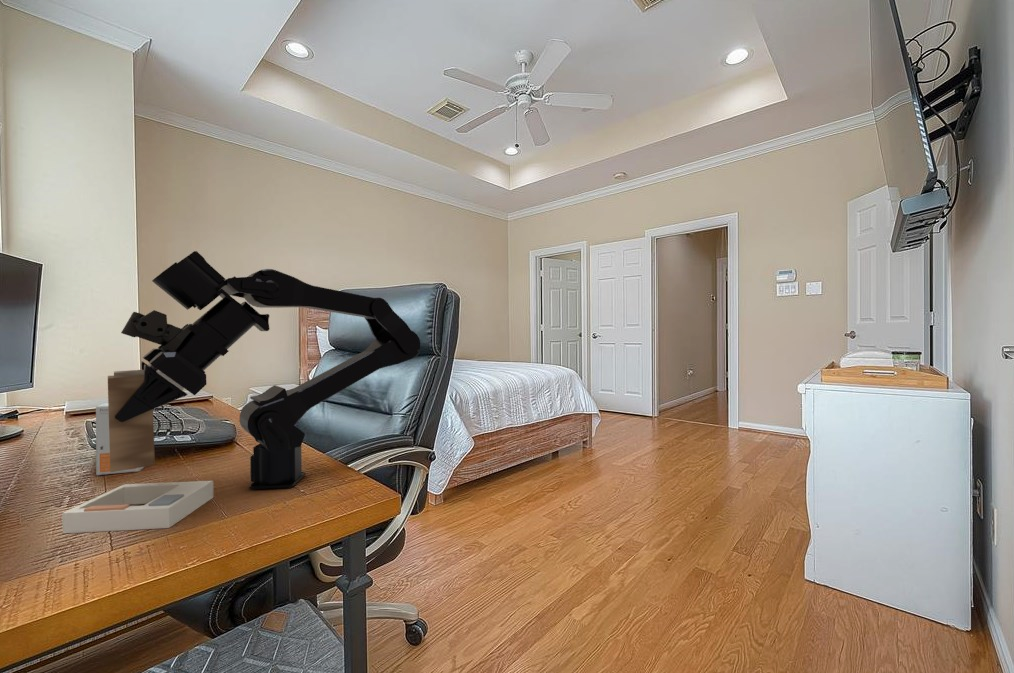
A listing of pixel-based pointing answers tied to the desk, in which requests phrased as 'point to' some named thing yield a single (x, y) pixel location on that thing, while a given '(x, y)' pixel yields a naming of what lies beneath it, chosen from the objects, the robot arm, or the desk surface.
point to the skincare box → (104, 442)
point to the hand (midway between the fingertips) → (117, 417)
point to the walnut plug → (128, 425)
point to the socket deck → (138, 507)
